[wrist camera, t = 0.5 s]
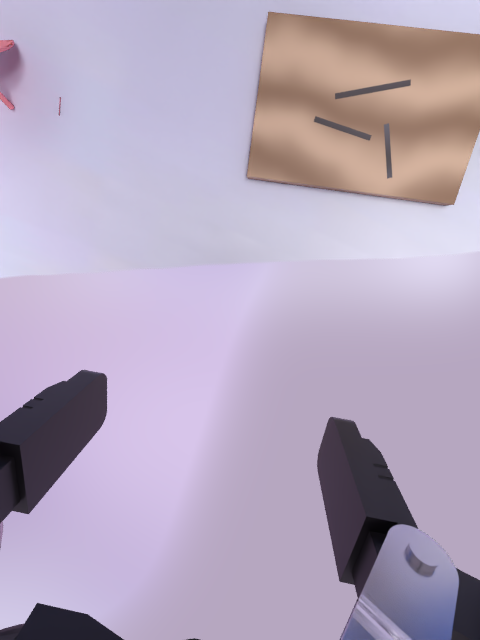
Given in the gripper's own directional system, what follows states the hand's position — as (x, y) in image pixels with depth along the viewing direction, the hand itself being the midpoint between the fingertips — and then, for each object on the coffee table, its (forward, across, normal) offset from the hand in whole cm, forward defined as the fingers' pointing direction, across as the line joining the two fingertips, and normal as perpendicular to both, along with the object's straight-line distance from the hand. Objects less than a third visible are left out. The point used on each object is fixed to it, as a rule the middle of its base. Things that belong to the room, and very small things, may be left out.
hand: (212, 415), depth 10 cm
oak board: (+28, -8, -18) cm, 34 cm away
